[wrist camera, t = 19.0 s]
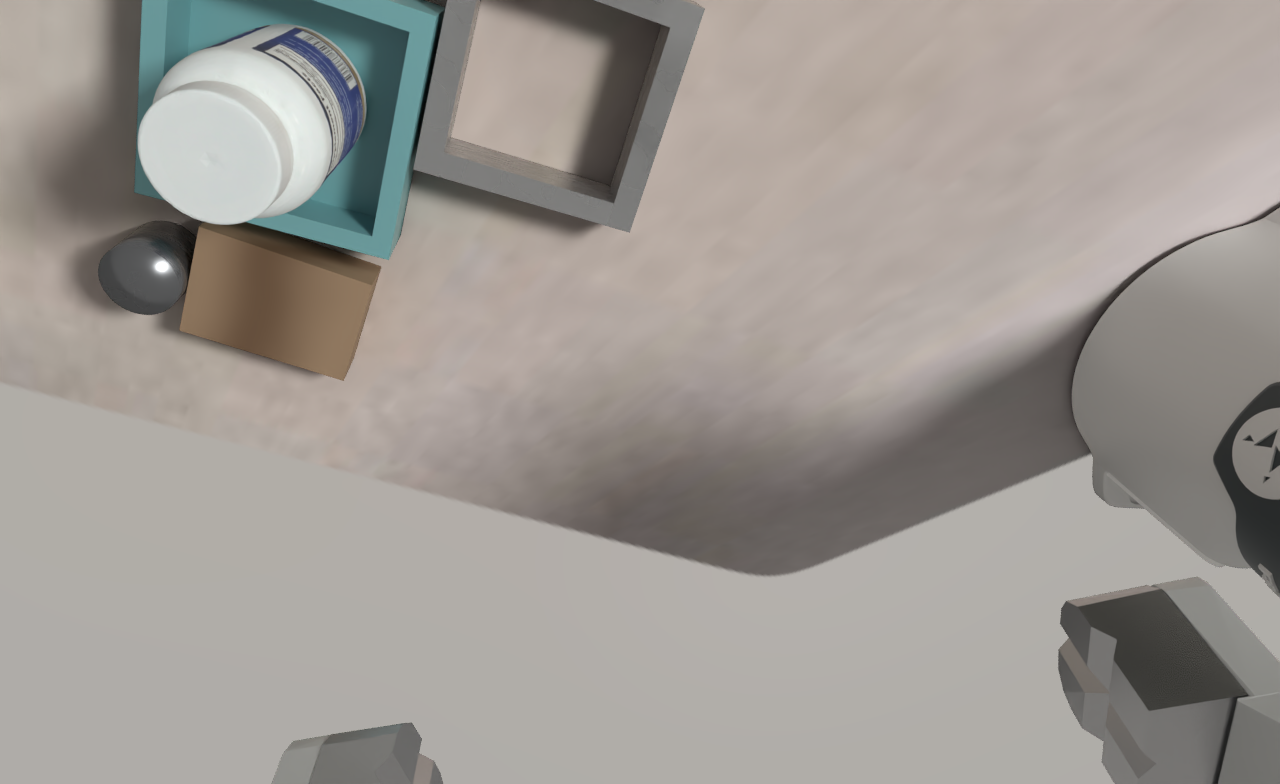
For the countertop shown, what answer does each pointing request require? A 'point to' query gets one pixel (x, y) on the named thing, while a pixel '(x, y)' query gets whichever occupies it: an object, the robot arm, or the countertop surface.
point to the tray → (394, 87)
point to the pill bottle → (252, 124)
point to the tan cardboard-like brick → (278, 296)
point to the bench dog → (149, 268)
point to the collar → (543, 184)
